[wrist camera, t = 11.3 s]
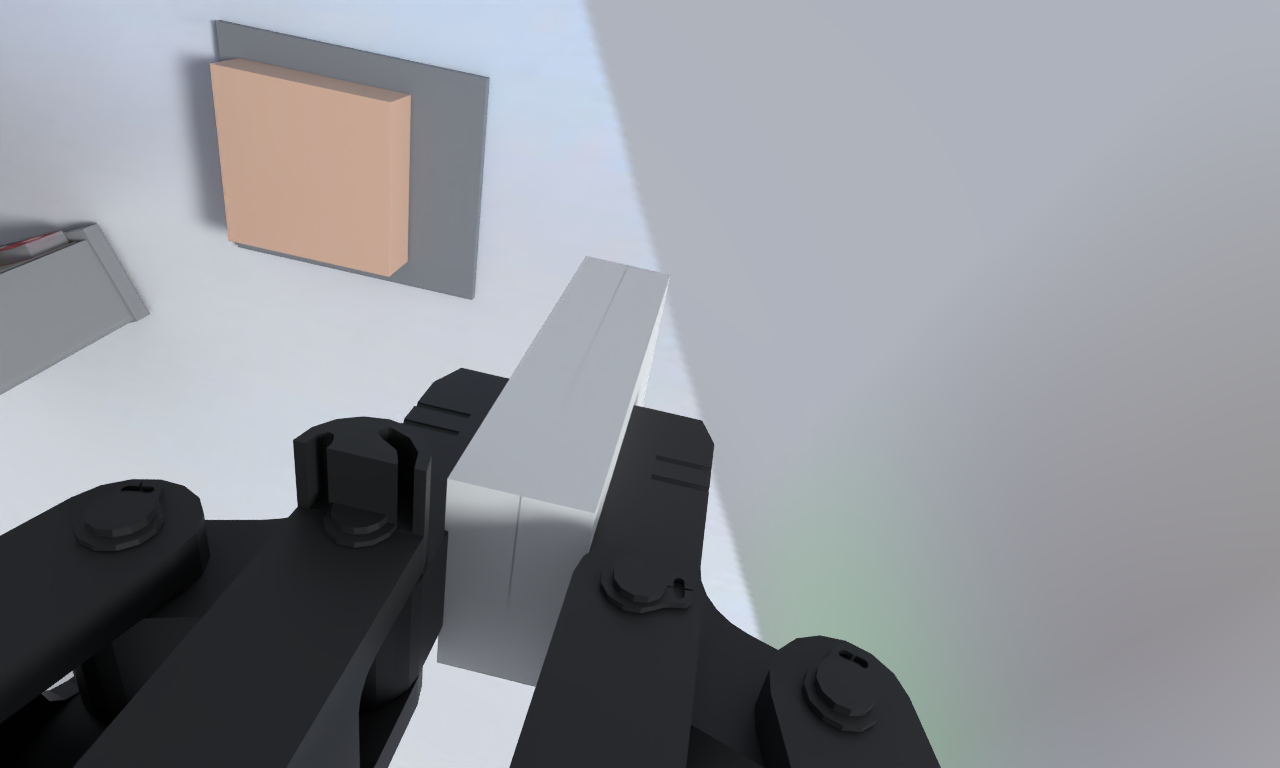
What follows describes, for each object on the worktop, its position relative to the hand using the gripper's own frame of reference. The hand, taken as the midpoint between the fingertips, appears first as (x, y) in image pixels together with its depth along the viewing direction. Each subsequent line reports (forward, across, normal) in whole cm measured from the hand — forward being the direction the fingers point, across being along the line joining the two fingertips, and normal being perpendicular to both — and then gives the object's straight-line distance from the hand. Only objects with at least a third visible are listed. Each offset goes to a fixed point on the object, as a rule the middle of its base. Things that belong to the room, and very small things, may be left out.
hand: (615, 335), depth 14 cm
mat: (+26, -18, -7) cm, 33 cm away
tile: (+25, -15, -7) cm, 30 cm away
